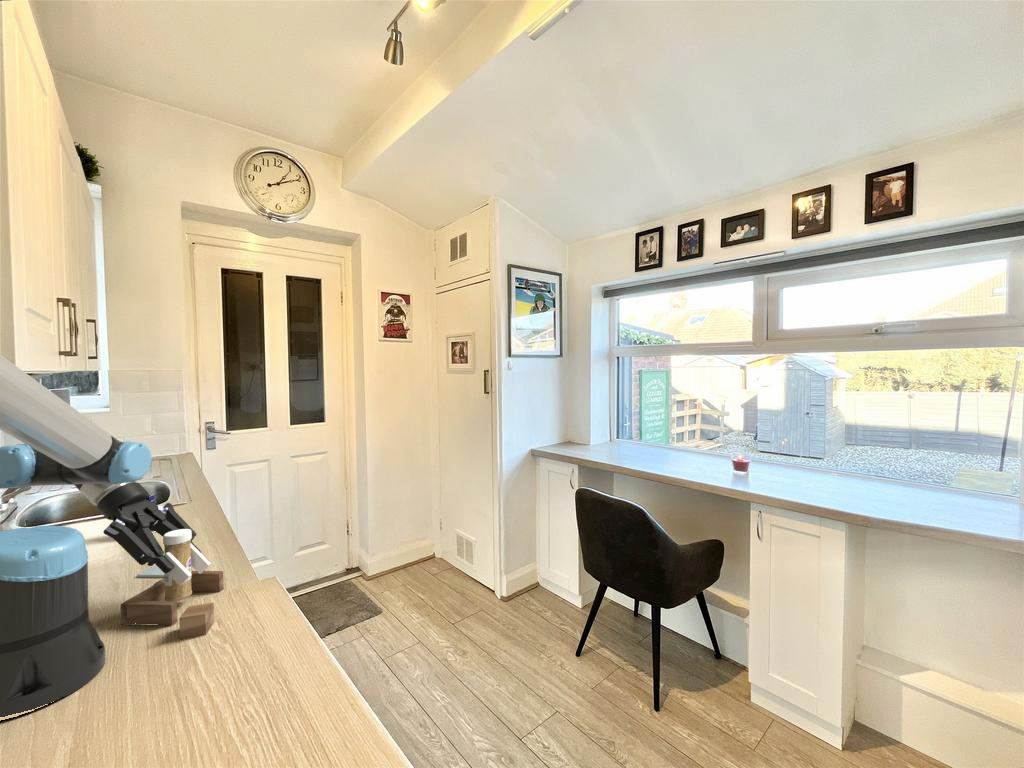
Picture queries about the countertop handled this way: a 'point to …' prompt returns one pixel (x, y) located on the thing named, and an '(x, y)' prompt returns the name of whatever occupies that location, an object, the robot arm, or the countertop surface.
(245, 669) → the countertop surface
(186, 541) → the spice jar
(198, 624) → the walnut cube
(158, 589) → the cubby
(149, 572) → the coaster
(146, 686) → the countertop surface
